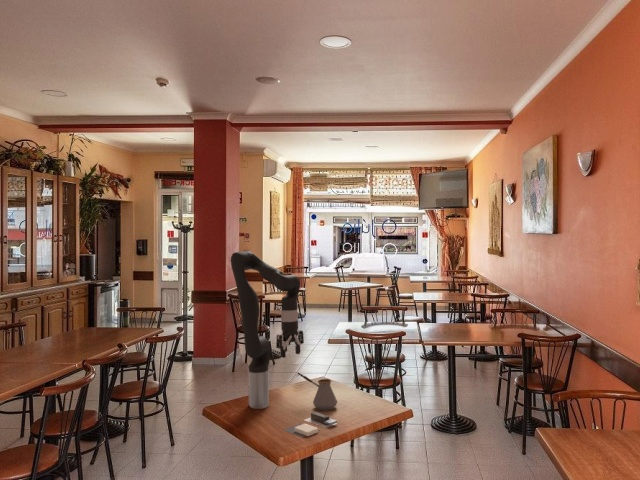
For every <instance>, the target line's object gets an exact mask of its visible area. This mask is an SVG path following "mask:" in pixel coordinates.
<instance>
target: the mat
mask: <svg viewBox="0 0 640 480" xmlns="http://www.w3.org/2000/svg"><path fill="white" fill-rule="evenodd" d="M302 424H303V423H298V424H295V425H292V426H290V427H288V428H285V429H283V431H284V432H287V433H290V434H292V435H295V436H297V437H300V438H304V437H306V436H305V435H303V434H300V433H298V432H295V429H294V427H297V426H300V425H302ZM320 431H321V430H320V429H318V432H320Z"/></svg>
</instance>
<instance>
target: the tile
mask: <svg viewBox="0 0 640 480" xmlns="http://www.w3.org/2000/svg"><path fill="white" fill-rule="evenodd" d="M301 424H302V425H300V426H297V427H294V429H295V432H298V433H300V434H303V435H305V437H310V436H312V435H315V434H317V433H319V431H318V430H319V428H318V427H316V426H313V425H310V424H307V423H301Z"/></svg>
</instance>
